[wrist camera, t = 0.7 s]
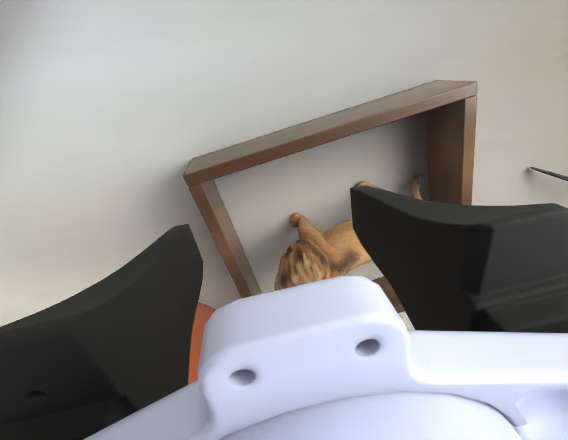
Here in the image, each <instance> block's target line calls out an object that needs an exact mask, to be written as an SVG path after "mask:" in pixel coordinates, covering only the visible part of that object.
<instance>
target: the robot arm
mask: <svg viewBox="0 0 568 440" xmlns="http://www.w3.org/2000/svg"><path fill="white" fill-rule="evenodd" d="M350 194H351V209H352V224H353V230H354V232H355V234H356V236H357V238H358V239H359V241H360V243H361V245H362V246H363V248H364V249H365V251H366V252H367V253H368V255H369V256H370V257H371V259H372V260H373V261H374V263H375V264H376V266H377V267H378V268H379V270H380V271H381V272H382V274H383V275H384V276H385V278H386V279H387V281H388V282H389V284H390V285H391V287H392V288H393V290H394V292H395V294H396V295H397V297H398V299H399V301H400V302H401V304H402V306H403V308H404V310H405V311H406V313H407V315H408V317H409V319H410V321H411V323H412V325H413V326H414V328H415V330H406V327H405V324H404V322H403V321H402V319H401V318H400V316H399V315H398V313H397V312H396V310H395V309H394V307H393V306H392V304H391V303H390V301H389V299H388V298H387V296H386V295H385V293H384V292H383V290H382V289H381V287H380V286H379V285H378V284H376V283H375V282H373V281H371V280H369V279H367V278H365V277H364V276H338V277H334V278H329V279H325V280H320V281H316V282H312V283H307V284H303V285H299V286H294V287H290V288H286V289H281V290H277V291H273V292H268V293H264V294H259V295H255V296H251V297H246V298H242V299H238V300H236V301H233V302H231V303H229V304H227V305H225V306H223V307H220V308H218V309H216V310H215V312H214V313H213V314H212V316H211V317H210V319H209V320H208V321H207V323H206V324H205V325H204V332H203V339H202V346H201V352H200V359H199V366H198V380H197V381H195V382H193V383H191V384H189V385H188V379H189V363H190V349H191V338H192V330H193V323H194V319H195V314H196V309H197V305H198V300H199V295H200V290H201V285H202V279H203V260H202V257H201V254H200V252H199V249H198V247H197V244H196V242H195V239H194V236H193V234H192V231H191V229H190V226H189V224H184V225H180V226H175V227H173V228H171V229H170V230H168V231H167V232H166V233H165V234H163V235H162V236H161V237H160V238H159V239H157V240H156V241H155V242H154V243H152V244H151V245H150V246H149V247H148V248H146V249H145V250H144V251H143V252H141V253H140V254H139V255H138V256H136V257H135V258H134V259H132V260H131V261H130V262H128V263H127V264H126V265H124V266H123V267H121V268H120V269H119V270H117V271H116V272H114V273H112V274H111V275H109V276H108V277H106V278H105V279H103V280H101V281H100V282H98V283H96V284H94V285H92V286H90V287H89V288H87V289H85V290H83V291H81V292H80V293H78V294H76V295H74V296H72V297H70V298H68V299H66V300H64V301H62V302H60V303H57V304H55V305H53V306H51V307H49V308H46V309H44V310H42V311H40V312H37V313H35V314H32V315H30V316H27V317H25V318H22V319H20V320H17V321H15V322H12V323H10V324H7V325H4V326H2V327H0V440H568V209H567V208H565V207H563V206H560V205H558V204H554V203H549V204H533V205H517V206H473V205H458V204H447V203H440V202H433V201H427V200H422V199H417V198H412V197H408V196H404V195H400V194H396V193H393V192H389V191H386V190H382V189H379V188H375V187H371V186H364V185H363V186H359V187H354V188H350Z"/></svg>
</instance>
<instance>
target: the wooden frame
mask: <svg viewBox="0 0 568 440" xmlns="http://www.w3.org/2000/svg"><path fill="white" fill-rule="evenodd" d="M476 108H477V82H476V81H446V80H436V81H433V82H430V83H427V84H423V85H420V86H417V87H414V88H411V89H408V90H405V91H402V92H398V93H395V94H392V95H389V96H386V97H383V98H380V99H377V100H374V101H370V102H367V103H364V104H361V105H358V106H355V107H352V108H349V109H345V110H342V111H339V112H336V113H333V114H330V115H327V116H324V117H321V118H317V119H314V120H311V121H308V122H305V123H302V124H299V125H296V126H293V127H289V128H286V129H283V130H280V131H277V132H274V133H271V134H268V135H264V136H261V137H258V138H255V139H252V140H249V141H246V142H243V143H240V144H236V145H233V146H230V147H227V148H224V149H221V150H218V151H215V152H211V153H208V154H205V155H202V156H199V157H196V158H193V159H192V161H191V163H190V165H189V166H188V168H187V170H186V172H185V173H184V175H183V177H184V179H185V181H186V183H187V185H188V187H189V190H190V192H191V194H192V196H193V198H194V200H195V202H196V204H197V206H198V208H199V210H200V212H201V214H202V216H203V219H204V221H205V223H206V225H207V227H208V229H209V231H210V233H211V235H212V237H213V239H214V241H215V243H216V245H217V247H218V250H219V252H220V254H221V256H222V258H223V260H224V262H225V264H226V266H227V268H228V270H229V272H230V274H231V276H232V278H233V280H234V283H235V285H236V287H237V289H238V291H239V293H240V295H241V297H242V298H246V297H251V296H255V295H259V294H262V292H261V289H260V287H259V285H258V282H257V280H256V278H255V275H254V273H253V271H252V268H251V266H250V264H249V261H248V259H247V257H246V254H245V252H244V250H243V248H242V245H241V243H240V241H239V238H238V236H237V234H236V231H235V229H234V227H233V224H232V222H231V220H230V217H229V215H228V213H227V210H226V208H225V206H224V203H223V201H222V199H221V197H220V194H219V192H218V190H217V187H216V185H215V183H214V180H213V179H215V178H218V177H222V176H225V175H228V174H231V173H234V172H237V171H240V170H244V169H247V168H250V167H253V166H256V165H259V164H262V163H265V162H269V161H272V160H275V159H278V158H281V157H284V156H287V155H290V154H294V153H297V152H300V151H303V150H306V149H309V148H312V147H315V146H319V145H322V144H325V143H328V142H331V141H334V140H337V139H340V138H344V137H347V136H350V135H353V134H356V133H359V132H362V131H366V130H369V129H372V128H375V127H378V126H381V125H384V124H387V123H391V122H394V121H397V120H400V119H403V118H406V117H409V116H412V115H416V114H419V113H422V112H425V111H428V138H429V174H430V201H433V202H440V203H447V204H458V205H471V203H472V184H473V165H474V146H475V127H476ZM373 282H375V283H376V284H378V285H379V286H380V287H381V289H382V290H383V292H384V293H385V295H386V296H387V298H388V299H389V301H390V303H391V304H392V306H393V307H394V309H395V310H396V312H397V313H400V312H403V311H405V310H404V308H403V306H402V304H401V302H400V301H399V299H398V297H397V295H396V294H395V292H394V290H393V288H392V287H391V285H390V284H389V282H388V281H387V279H386V278H385V277H382V278H379V279H376V280H373Z"/></svg>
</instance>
